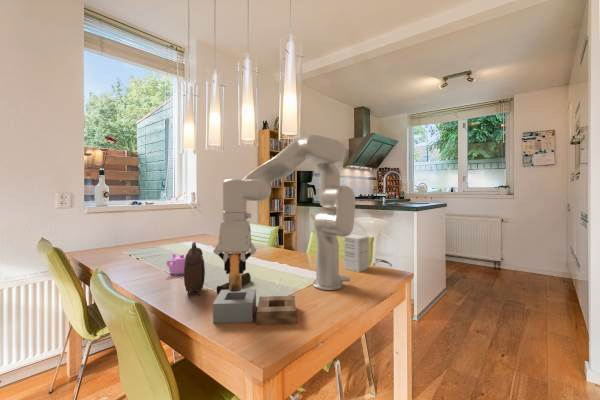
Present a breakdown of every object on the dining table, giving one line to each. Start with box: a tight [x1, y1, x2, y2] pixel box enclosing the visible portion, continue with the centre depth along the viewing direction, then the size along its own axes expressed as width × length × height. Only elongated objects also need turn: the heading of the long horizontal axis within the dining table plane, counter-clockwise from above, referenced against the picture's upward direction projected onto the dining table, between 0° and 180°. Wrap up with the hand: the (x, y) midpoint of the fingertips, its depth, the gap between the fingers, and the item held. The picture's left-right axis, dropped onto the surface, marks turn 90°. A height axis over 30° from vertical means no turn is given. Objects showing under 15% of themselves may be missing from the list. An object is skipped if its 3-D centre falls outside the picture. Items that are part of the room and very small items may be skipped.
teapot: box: [166, 252, 186, 276], centre depth 139 cm, size 12×14×9 cm
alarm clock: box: [183, 241, 206, 296], centre depth 112 cm, size 15×7×20 cm, turn 17°
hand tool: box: [216, 272, 252, 296], centre depth 117 cm, size 19×4×5 cm, turn 149°
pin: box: [228, 252, 242, 292], centre depth 92 cm, size 4×4×12 cm
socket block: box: [212, 288, 257, 324], centre depth 92 cm, size 12×12×6 cm
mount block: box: [256, 295, 297, 326], centre depth 91 cm, size 12×12×4 cm
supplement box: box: [343, 234, 370, 273], centre depth 144 cm, size 10×9×17 cm
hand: (235, 272), depth 92 cm, fingers closed on pin, 4 cm apart
